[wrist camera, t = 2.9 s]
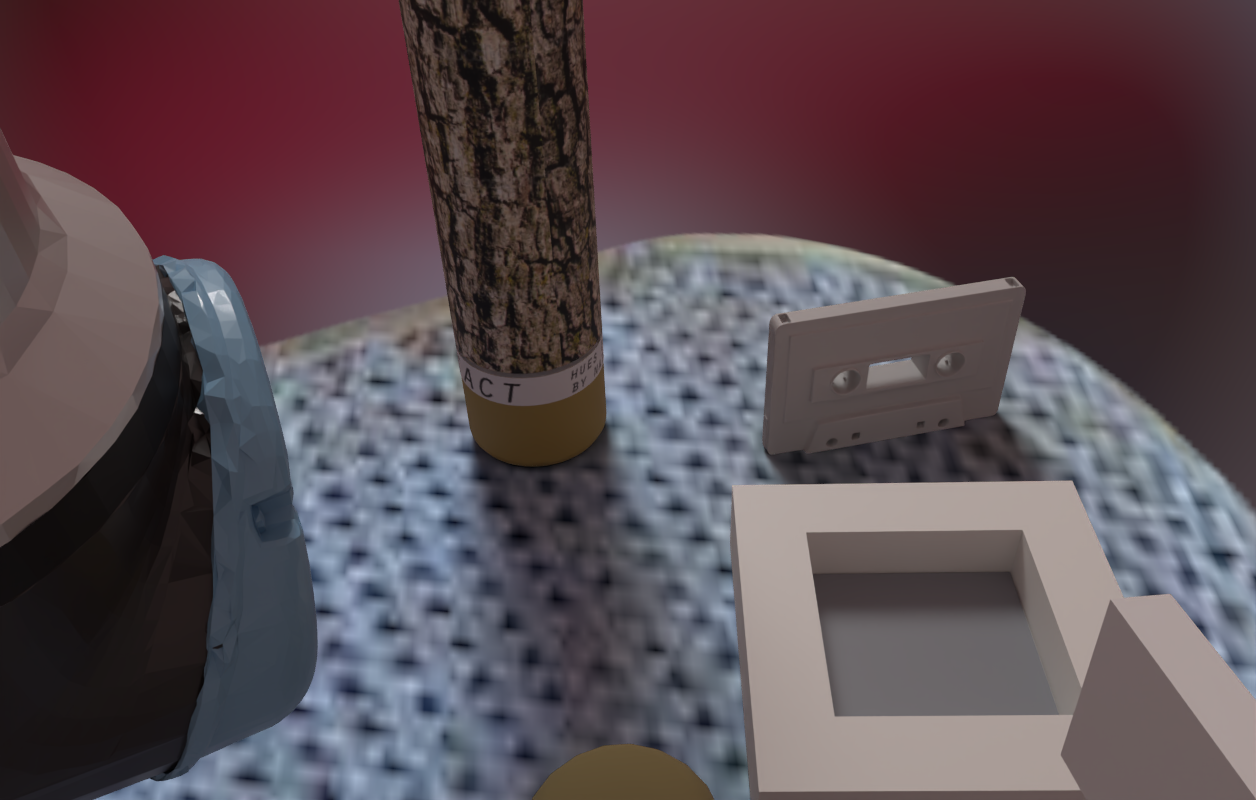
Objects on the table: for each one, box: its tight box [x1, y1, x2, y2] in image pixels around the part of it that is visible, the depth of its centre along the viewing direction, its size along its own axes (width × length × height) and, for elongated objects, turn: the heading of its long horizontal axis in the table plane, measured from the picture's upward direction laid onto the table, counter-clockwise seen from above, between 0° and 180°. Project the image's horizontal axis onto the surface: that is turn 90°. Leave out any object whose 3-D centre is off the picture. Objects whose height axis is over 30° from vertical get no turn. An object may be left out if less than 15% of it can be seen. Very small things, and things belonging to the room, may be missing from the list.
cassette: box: [762, 277, 1026, 455], centre depth 50 cm, size 12×2×8 cm, turn 103°
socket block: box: [730, 481, 1124, 800], centre depth 40 cm, size 14×14×4 cm
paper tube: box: [399, 0, 606, 467], centre depth 46 cm, size 7×7×25 cm
